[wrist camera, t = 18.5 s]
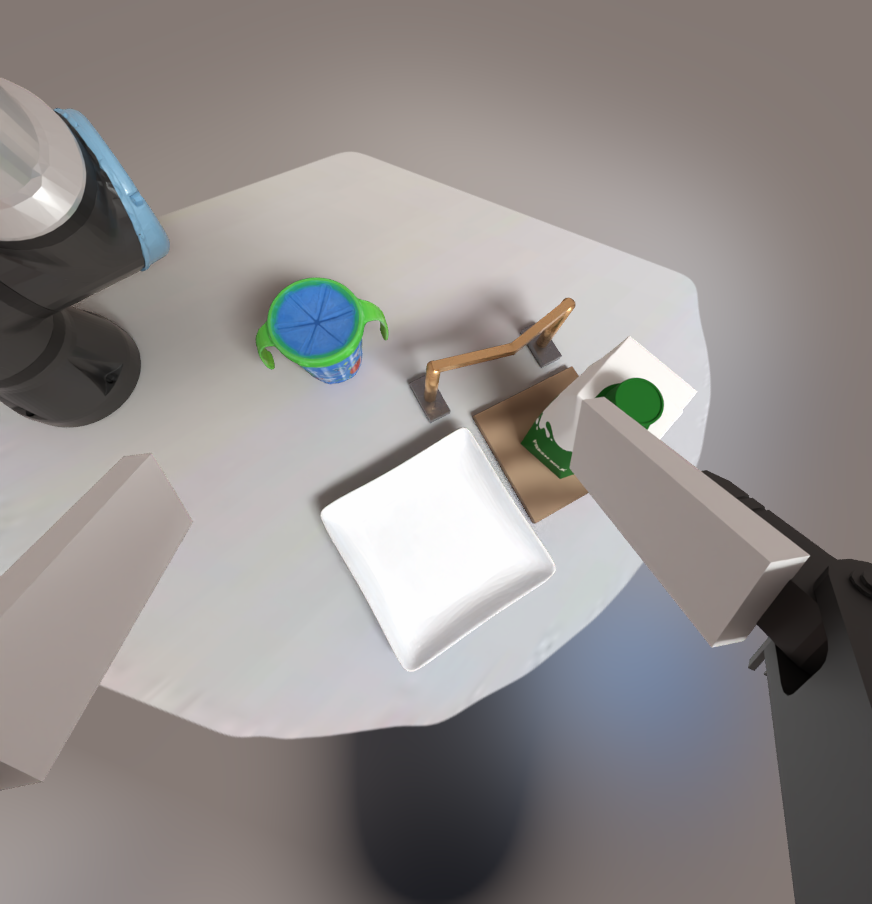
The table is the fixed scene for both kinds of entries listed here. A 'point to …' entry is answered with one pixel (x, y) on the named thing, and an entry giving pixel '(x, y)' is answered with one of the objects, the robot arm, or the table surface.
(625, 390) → the soya milk
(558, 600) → the table surface
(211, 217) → the table surface
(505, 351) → the copper wire
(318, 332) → the snack cup
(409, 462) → the salad plate
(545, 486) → the walnut board
